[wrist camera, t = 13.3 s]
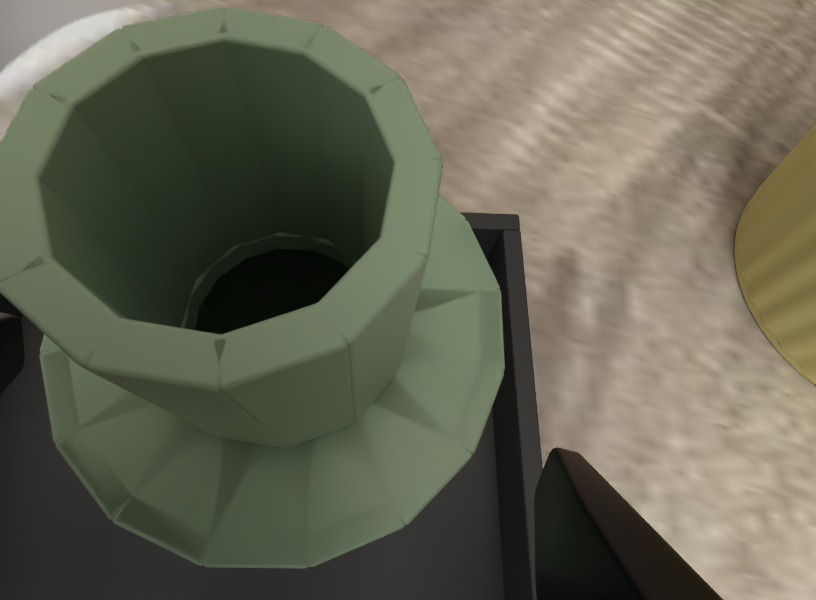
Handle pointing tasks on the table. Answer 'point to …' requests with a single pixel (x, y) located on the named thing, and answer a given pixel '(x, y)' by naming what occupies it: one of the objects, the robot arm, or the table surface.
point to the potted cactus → (783, 256)
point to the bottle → (246, 287)
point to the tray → (287, 587)
